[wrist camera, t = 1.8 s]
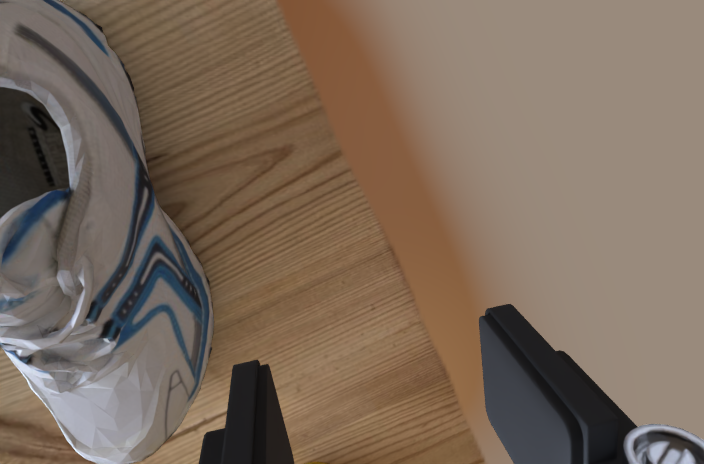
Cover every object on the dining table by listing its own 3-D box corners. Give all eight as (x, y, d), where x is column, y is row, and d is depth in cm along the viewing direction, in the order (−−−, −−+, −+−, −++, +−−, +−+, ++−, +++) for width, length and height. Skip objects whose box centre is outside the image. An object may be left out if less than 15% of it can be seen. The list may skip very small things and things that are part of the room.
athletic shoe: (88, 435, 30) (57, 621, 20) (-141, 39, 22) (-408, -13, 12) (247, 363, 33) (295, 492, 22) (93, -13, 25) (55, -94, 14)
